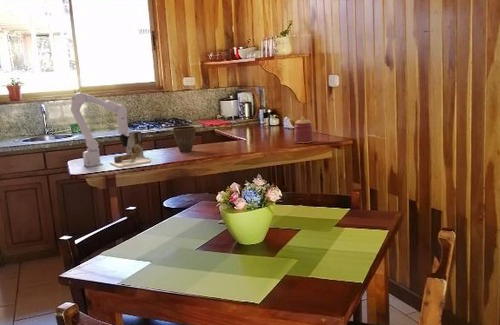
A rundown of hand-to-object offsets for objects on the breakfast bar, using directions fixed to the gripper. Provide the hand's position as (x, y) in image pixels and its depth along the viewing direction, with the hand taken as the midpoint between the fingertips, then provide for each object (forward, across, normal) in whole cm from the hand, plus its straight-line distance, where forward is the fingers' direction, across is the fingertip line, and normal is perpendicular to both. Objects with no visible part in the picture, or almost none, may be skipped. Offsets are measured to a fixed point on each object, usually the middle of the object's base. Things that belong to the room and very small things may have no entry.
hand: (125, 146), depth 319 cm
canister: (+9, -34, -114) cm, 119 cm away
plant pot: (+9, 0, -41) cm, 42 cm away
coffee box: (+9, +8, -9) cm, 15 cm away
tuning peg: (+8, -6, +3) cm, 10 cm away
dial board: (+9, -10, +1) cm, 13 cm away
